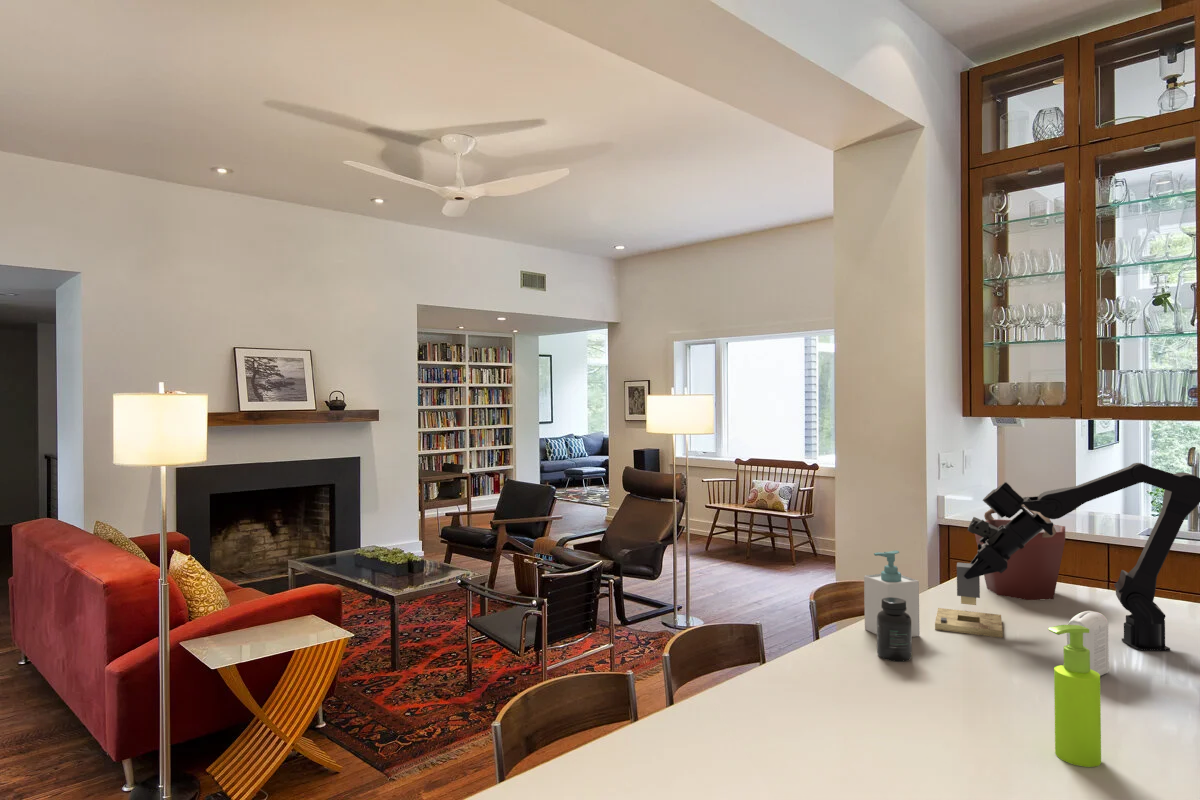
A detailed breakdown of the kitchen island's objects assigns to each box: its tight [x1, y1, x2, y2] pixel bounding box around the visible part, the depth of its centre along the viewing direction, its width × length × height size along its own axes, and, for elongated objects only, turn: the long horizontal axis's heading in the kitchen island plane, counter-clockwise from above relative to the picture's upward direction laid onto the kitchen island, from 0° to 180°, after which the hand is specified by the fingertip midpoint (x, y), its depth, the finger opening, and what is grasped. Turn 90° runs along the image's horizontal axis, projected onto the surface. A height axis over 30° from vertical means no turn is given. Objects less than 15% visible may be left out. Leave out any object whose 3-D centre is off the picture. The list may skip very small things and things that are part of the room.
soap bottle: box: [863, 550, 921, 638], centre depth 171 cm, size 9×9×19 cm
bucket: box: [974, 505, 1066, 601], centre depth 205 cm, size 24×22×25 cm
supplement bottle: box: [876, 597, 913, 663], centre depth 155 cm, size 7×7×12 cm
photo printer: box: [1066, 610, 1110, 677], centre depth 144 cm, size 10×4×12 cm, turn 123°
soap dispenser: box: [1047, 624, 1102, 768], centre depth 111 cm, size 6×7×20 cm
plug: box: [956, 562, 981, 606], centre depth 176 cm, size 5×5×9 cm
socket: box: [934, 607, 1004, 639], centre depth 176 cm, size 14×14×2 cm
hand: (965, 575), depth 176 cm, fingers closed on plug, 5 cm apart
